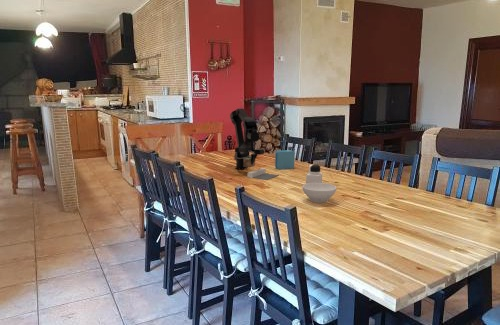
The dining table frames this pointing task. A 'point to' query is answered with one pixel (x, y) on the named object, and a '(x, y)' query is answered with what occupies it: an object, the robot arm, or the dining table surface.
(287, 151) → the data package
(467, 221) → the dining table surface
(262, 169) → the rail
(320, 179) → the medicine bottle
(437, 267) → the dining table surface
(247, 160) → the block
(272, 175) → the mat
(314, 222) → the dining table surface
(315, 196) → the bowl
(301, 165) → the dining table surface
